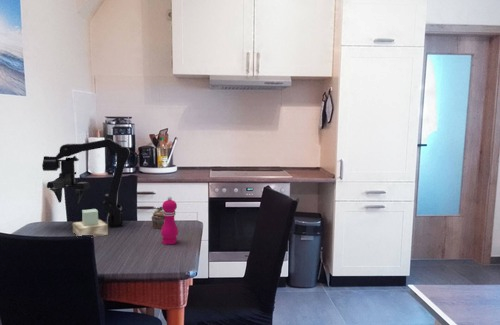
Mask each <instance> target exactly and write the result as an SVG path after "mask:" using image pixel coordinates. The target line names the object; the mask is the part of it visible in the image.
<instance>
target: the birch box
mask: <svg viewBox="0 0 500 325" xmlns="http://www.w3.org/2000/svg"><path fill="white" fill-rule="evenodd" d="M108 230H109V226H108V224H107V222H104V220H102V219H100V218H98V225H89V226H84V225H83V223H82V221H75V222H72V233H73V234H74V233H75V234H76V235H75V234H74V235H75V236H76V237H77V236H82V235H93V236H94V237H93V238H95V237H102V236H107V235H108V234H109V231H108Z"/></svg>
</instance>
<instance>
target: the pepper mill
mask: <svg viewBox="0 0 500 325" xmlns="http://www.w3.org/2000/svg"><path fill="white" fill-rule="evenodd" d="M161 207H162V208H163V210H164V215H165V222H164V225H163V227H162V229H160V230H161V231H160V235H161V236H162V239H161V243H162V244H163V245H174V244H177V243H178V238H177V236H178V235H179V228H178V227H177V224H176V220H175V217H176V210H177V208H178V206H177V202H176V201H175V200H173V199H172V196H167V200H165V201H164V202H163V203H162V206H161Z"/></svg>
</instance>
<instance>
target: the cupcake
mask: <svg viewBox="0 0 500 325" xmlns="http://www.w3.org/2000/svg"><path fill="white" fill-rule="evenodd" d="M151 222H152V228H153V229H157V230H162V227H163V225H164V222H165V215H164V210H163V208H162V206H159V207H157V208H155V209H154V212H153V213H152V216H151Z"/></svg>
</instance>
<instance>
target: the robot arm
mask: <svg viewBox="0 0 500 325" xmlns="http://www.w3.org/2000/svg"><path fill="white" fill-rule="evenodd" d="M102 148H108V149H109V150H111V151H112V152H113V153H115V154H116V166H115V169H114V170H115V171H114V174H113V179H112V181H111V186H110V191H109V193H106V194H105V195H104V201H103V203H102V205H103V208H104V209H105V211H107V216H106V224H107V225H108V228H116V227H117V228H118V227H123V226H124V223H123V222H124V221H123V216H124V215H123V212H122V209H123V206H121V205H120V204H119V203H118V200H119V199H118V198H119V188H120V184H121V181H122V177H123V173H124V168H125V165H126V163H127V161H128V159H129V157H130V155H131V154H130V153H131V150H130V148H129V147H128V146H125V145H124V146H123V145H121V144H119V143H117V142H115V141H113V139H111V138H106V139H101V140H95V141H90V142H85V143H65V144H62V145H61V146H60V147H59V151H58V153H57V154H56V156H48V155H47V156H46V155H45V156H44V155H43V160H42V165H41V166H42V170H43V172H45V171H46V172H49V171H51V172H57V171H58V170H59V169H60V173H59V174H58V177H57V178H55V179H54V180H52V181H51V180H50V181H47V183H46V188H47V189H49V190H50V191H51V192H53V193H54V195H55V197H56V199H57V201H58V203H62V198H63V189H65V188H75V190H74V192H75V193H76V194H75V196H76V198H75V199H76V200H75V201H76V204H79V203H80V201H81V199H82V196H83V194H84V192H85V191H86V190H88V189H90V188H91V186H90V183H89V182H88V181H80V182H77V180H76V176H75V175H77V171H75V168H76V167H75V162H78V161H79V160H80V158H78V157H77V156H76V154H79V153H82V152H85V151H91V150H92V151H93V150H97V149H102ZM71 156H72V157H71ZM63 158H65V159H63Z"/></svg>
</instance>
